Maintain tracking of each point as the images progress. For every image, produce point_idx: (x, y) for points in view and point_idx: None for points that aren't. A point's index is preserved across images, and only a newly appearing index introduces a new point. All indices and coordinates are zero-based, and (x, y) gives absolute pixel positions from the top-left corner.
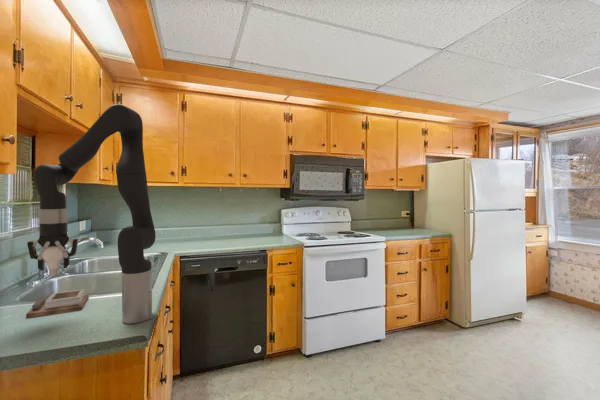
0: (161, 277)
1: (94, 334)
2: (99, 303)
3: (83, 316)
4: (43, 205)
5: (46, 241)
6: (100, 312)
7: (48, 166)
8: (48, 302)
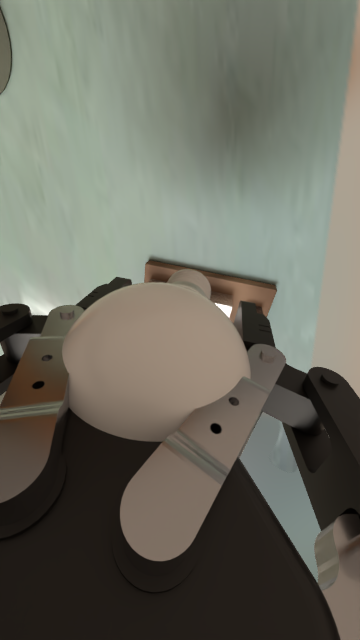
0: None
1: None
2: None
3: (139, 194)
4: None
5: (180, 576)
6: (98, 200)
7: None
8: (223, 303)
